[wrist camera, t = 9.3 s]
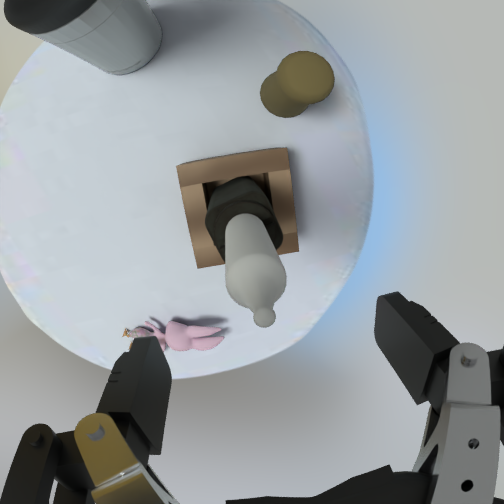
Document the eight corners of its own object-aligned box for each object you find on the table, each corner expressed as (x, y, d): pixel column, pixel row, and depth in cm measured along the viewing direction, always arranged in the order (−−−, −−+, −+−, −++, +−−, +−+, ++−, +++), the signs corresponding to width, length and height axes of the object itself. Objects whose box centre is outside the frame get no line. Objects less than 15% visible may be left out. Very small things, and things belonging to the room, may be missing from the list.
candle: (208, 190, 33) (170, 295, 10) (249, 171, 33) (306, 234, 10) (227, 228, 35) (233, 387, 12) (266, 210, 35) (345, 342, 11)
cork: (279, 127, 32) (302, 119, 22) (249, 87, 30) (260, 61, 20) (319, 102, 32) (356, 87, 21) (291, 63, 30) (317, 32, 19)
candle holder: (184, 162, 33) (176, 166, 27) (276, 147, 33) (287, 147, 28) (201, 249, 37) (197, 268, 31) (288, 235, 37) (299, 251, 31)
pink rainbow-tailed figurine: (139, 346, 43) (229, 343, 41) (125, 370, 37) (223, 371, 35) (125, 314, 41) (219, 307, 39) (108, 337, 35) (210, 334, 33)
